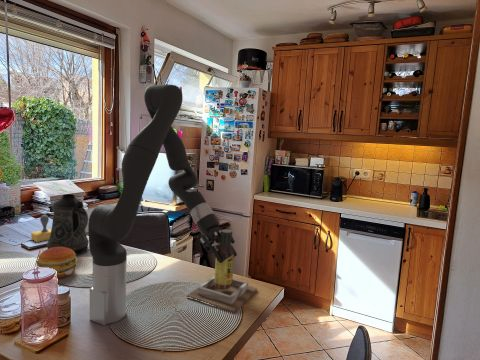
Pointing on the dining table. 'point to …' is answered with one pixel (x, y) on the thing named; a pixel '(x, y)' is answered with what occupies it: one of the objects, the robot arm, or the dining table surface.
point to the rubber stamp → (42, 231)
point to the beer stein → (69, 225)
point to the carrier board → (224, 294)
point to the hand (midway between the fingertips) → (228, 259)
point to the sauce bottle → (225, 262)
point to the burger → (58, 260)
